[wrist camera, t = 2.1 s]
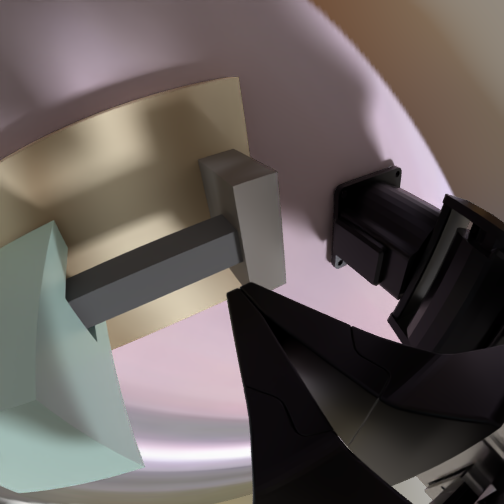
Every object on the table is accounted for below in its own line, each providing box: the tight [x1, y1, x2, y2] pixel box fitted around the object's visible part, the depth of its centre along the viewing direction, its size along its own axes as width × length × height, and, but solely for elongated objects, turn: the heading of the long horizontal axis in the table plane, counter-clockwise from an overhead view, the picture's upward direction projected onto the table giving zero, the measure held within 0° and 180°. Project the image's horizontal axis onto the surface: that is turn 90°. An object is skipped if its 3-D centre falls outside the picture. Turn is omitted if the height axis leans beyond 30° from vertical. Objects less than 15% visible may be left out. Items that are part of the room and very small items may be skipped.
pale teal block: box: [0, 220, 145, 493], centre depth 7 cm, size 6×5×8 cm
